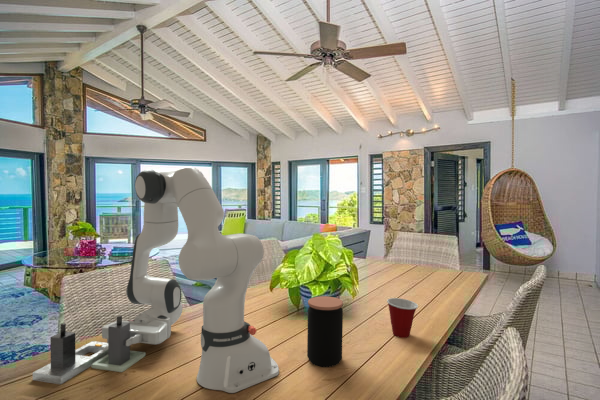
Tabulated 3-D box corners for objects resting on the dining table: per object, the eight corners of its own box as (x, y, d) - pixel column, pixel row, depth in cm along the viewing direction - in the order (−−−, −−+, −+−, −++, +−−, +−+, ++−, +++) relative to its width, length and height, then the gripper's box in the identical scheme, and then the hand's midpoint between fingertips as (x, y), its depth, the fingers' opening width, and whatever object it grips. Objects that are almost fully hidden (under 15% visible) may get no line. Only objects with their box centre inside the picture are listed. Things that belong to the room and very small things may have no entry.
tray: (116, 353, 109) (116, 348, 109) (145, 357, 107) (145, 352, 107) (91, 369, 99) (91, 364, 99) (122, 373, 97) (122, 368, 97)
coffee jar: (339, 351, 112) (340, 296, 112) (344, 368, 102) (345, 307, 101) (306, 351, 112) (306, 296, 112) (308, 368, 101) (308, 307, 101)
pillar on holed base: (92, 348, 112) (92, 305, 112) (116, 351, 110) (116, 307, 110) (32, 381, 93) (32, 329, 92) (60, 386, 91) (60, 332, 91)
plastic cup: (419, 342, 120) (420, 307, 120) (387, 339, 122) (387, 305, 122) (415, 330, 131) (416, 298, 130) (385, 327, 133) (386, 296, 132)
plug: (118, 357, 106) (118, 313, 105) (129, 359, 105) (129, 314, 104) (108, 363, 102) (108, 318, 101) (120, 365, 101) (120, 319, 101)
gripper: (120, 312, 118) (87, 328, 104) (174, 318, 114) (147, 335, 100) (120, 331, 118) (87, 349, 105) (174, 337, 114) (147, 357, 100)
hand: (117, 342), depth 102 cm, fingers closed on plug, 4 cm apart
